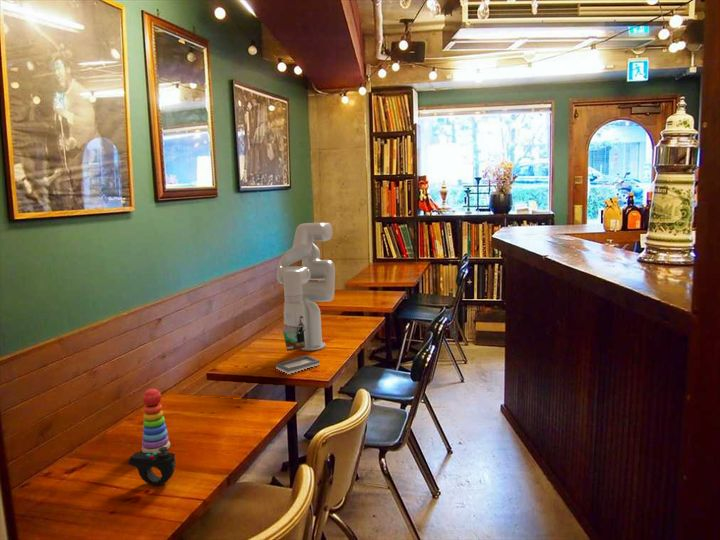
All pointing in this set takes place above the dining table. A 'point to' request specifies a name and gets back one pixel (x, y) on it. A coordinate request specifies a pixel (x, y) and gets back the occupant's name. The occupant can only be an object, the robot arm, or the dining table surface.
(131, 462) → the controller
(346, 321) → the dining table surface
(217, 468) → the dining table surface
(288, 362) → the framed board
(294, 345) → the food container
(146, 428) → the stacking toy
